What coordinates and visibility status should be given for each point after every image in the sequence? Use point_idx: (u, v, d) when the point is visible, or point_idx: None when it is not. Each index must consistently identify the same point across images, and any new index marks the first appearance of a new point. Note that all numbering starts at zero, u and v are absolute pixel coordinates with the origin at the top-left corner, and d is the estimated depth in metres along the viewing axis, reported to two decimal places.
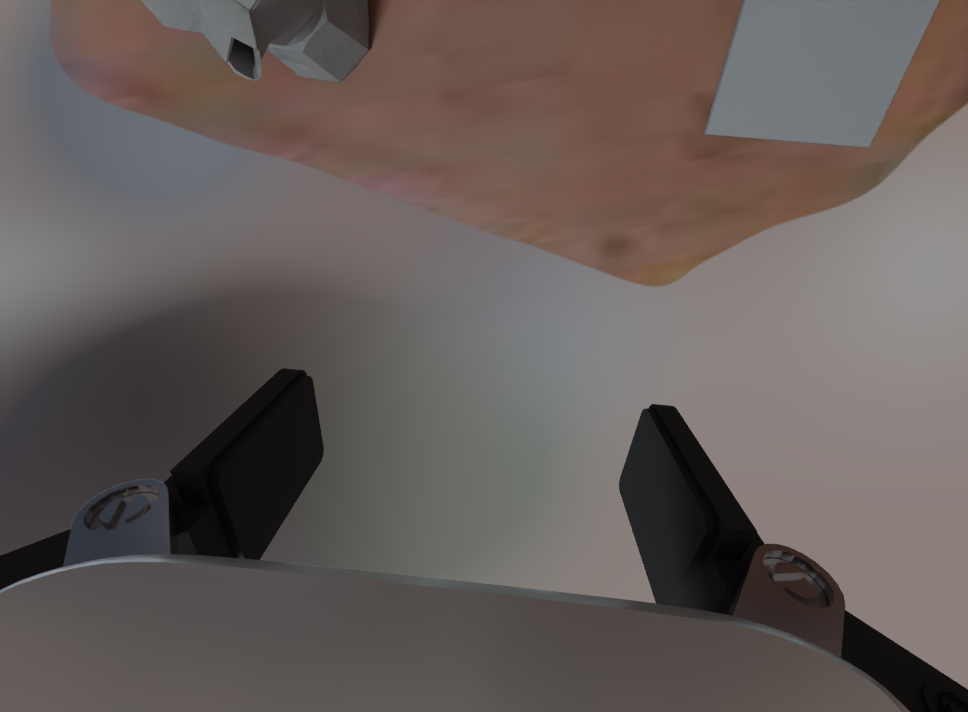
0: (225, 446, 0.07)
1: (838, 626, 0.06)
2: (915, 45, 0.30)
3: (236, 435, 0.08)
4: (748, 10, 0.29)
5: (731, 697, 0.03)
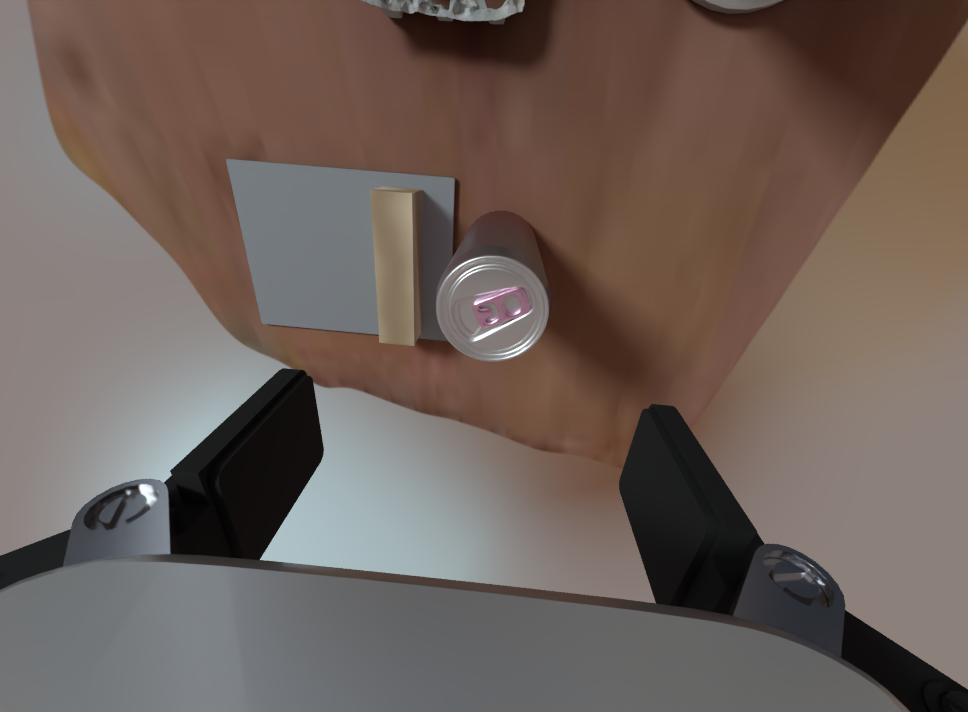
0: (225, 446, 0.07)
1: (838, 625, 0.06)
2: (333, 328, 0.36)
3: (236, 435, 0.08)
4: (330, 174, 0.30)
5: (731, 697, 0.03)
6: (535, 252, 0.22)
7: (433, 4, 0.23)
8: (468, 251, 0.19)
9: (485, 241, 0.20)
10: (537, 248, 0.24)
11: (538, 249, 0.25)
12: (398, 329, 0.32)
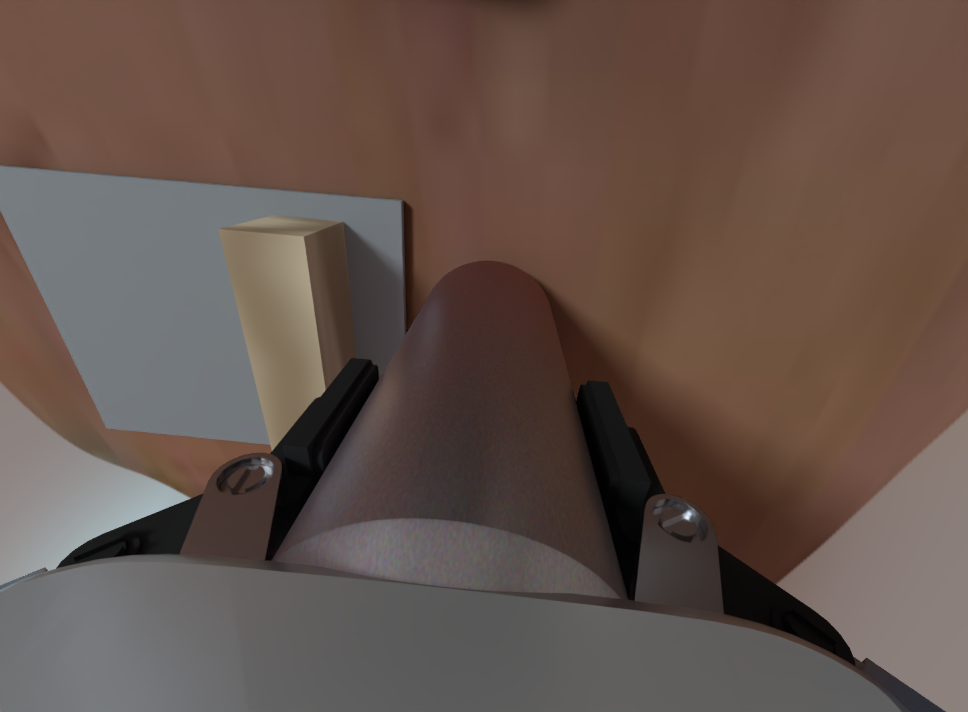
0: (322, 425, 0.08)
1: (714, 552, 0.07)
2: (220, 436, 0.22)
3: (328, 415, 0.09)
4: (172, 192, 0.16)
5: (731, 697, 0.03)
6: (570, 425, 0.08)
7: None
8: (337, 529, 0.05)
9: (415, 451, 0.06)
10: (565, 370, 0.11)
11: (565, 363, 0.12)
12: None
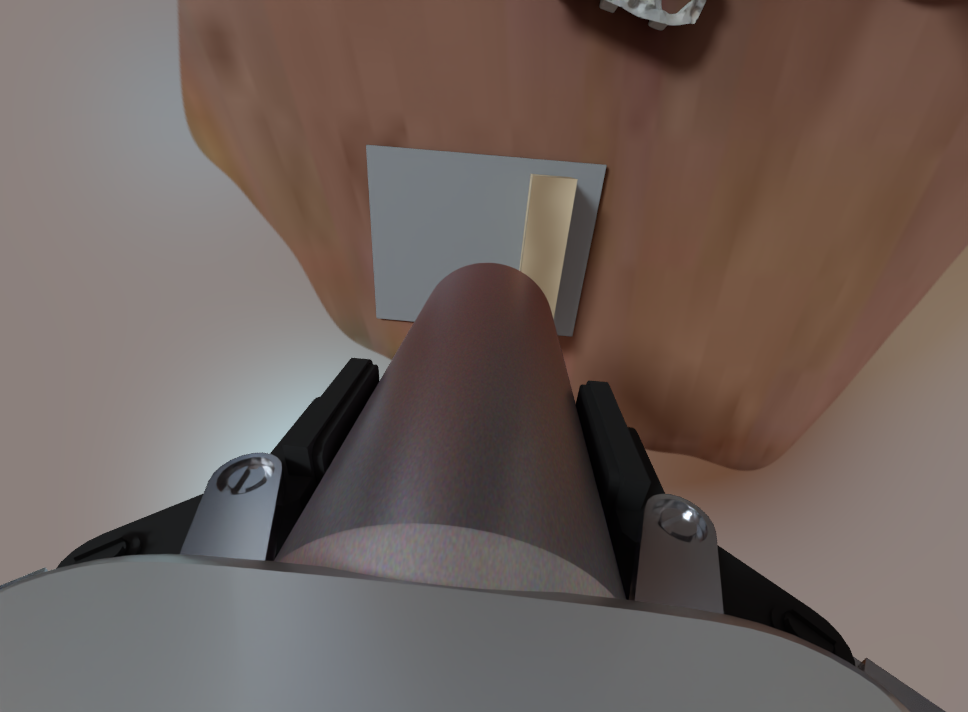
0: (323, 425, 0.08)
1: (713, 552, 0.07)
2: None
3: (329, 416, 0.09)
4: (475, 160, 0.29)
5: (731, 697, 0.03)
6: (569, 429, 0.08)
7: None
8: (337, 534, 0.05)
9: (415, 455, 0.06)
10: (564, 373, 0.11)
11: (564, 366, 0.12)
12: None
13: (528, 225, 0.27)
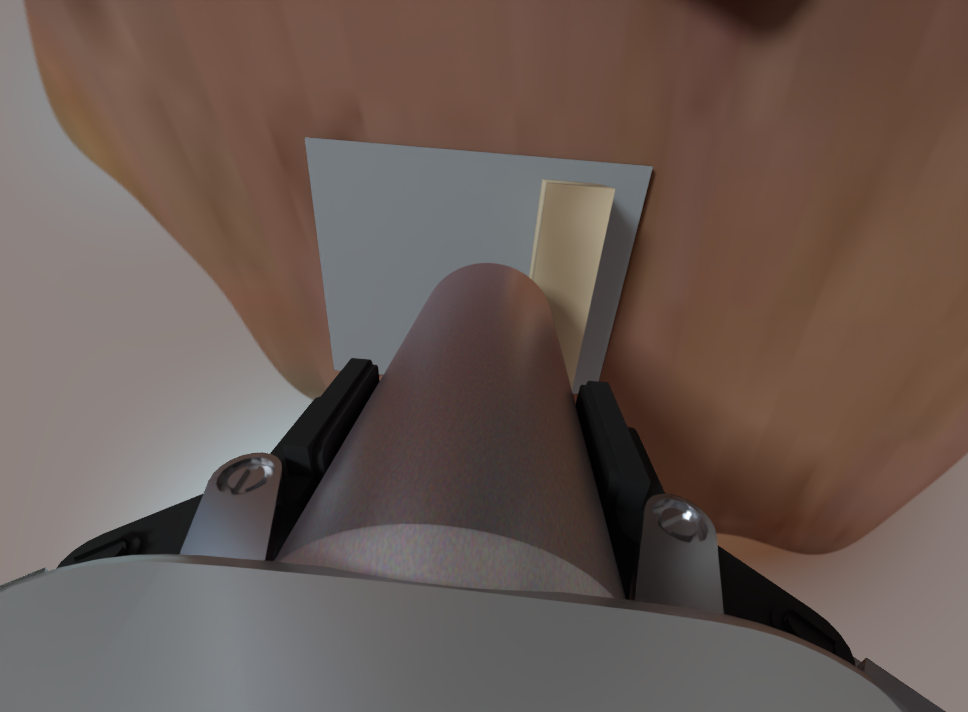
0: (323, 425, 0.08)
1: (714, 552, 0.07)
2: None
3: (329, 415, 0.09)
4: (462, 160, 0.20)
5: (731, 697, 0.03)
6: (569, 429, 0.08)
7: None
8: (336, 534, 0.05)
9: (415, 455, 0.06)
10: (564, 373, 0.11)
11: (564, 366, 0.12)
12: None
13: (539, 256, 0.18)
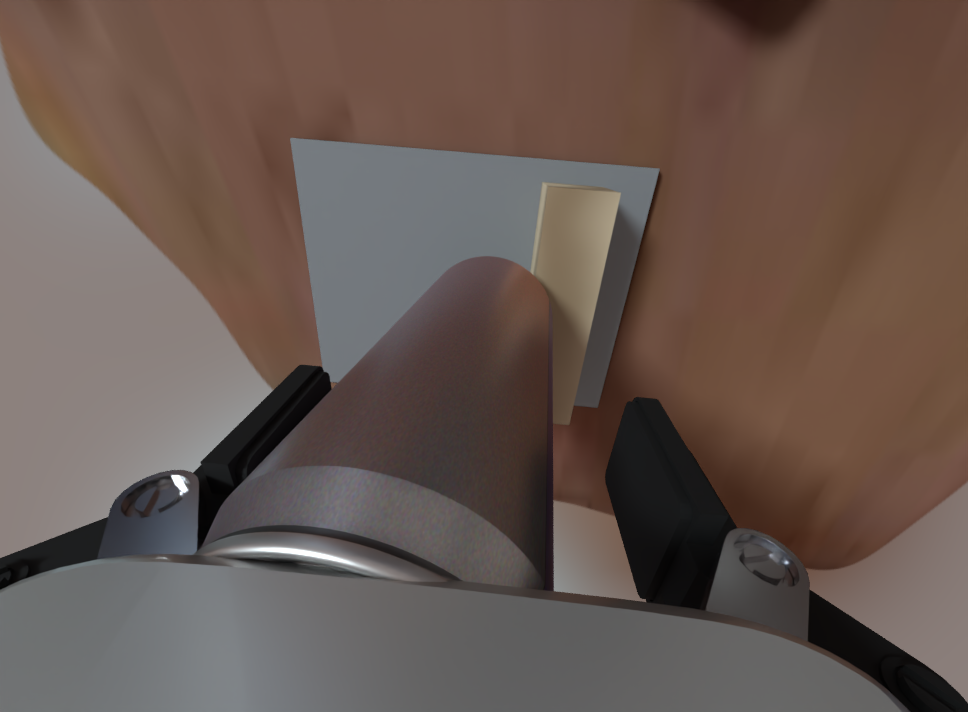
0: (251, 439, 0.08)
1: (803, 602, 0.06)
2: None
3: (260, 428, 0.08)
4: (457, 162, 0.19)
5: (731, 697, 0.03)
6: (526, 408, 0.08)
7: None
8: (273, 472, 0.05)
9: (359, 413, 0.06)
10: (542, 361, 0.11)
11: (546, 355, 0.12)
12: None
13: (539, 264, 0.17)
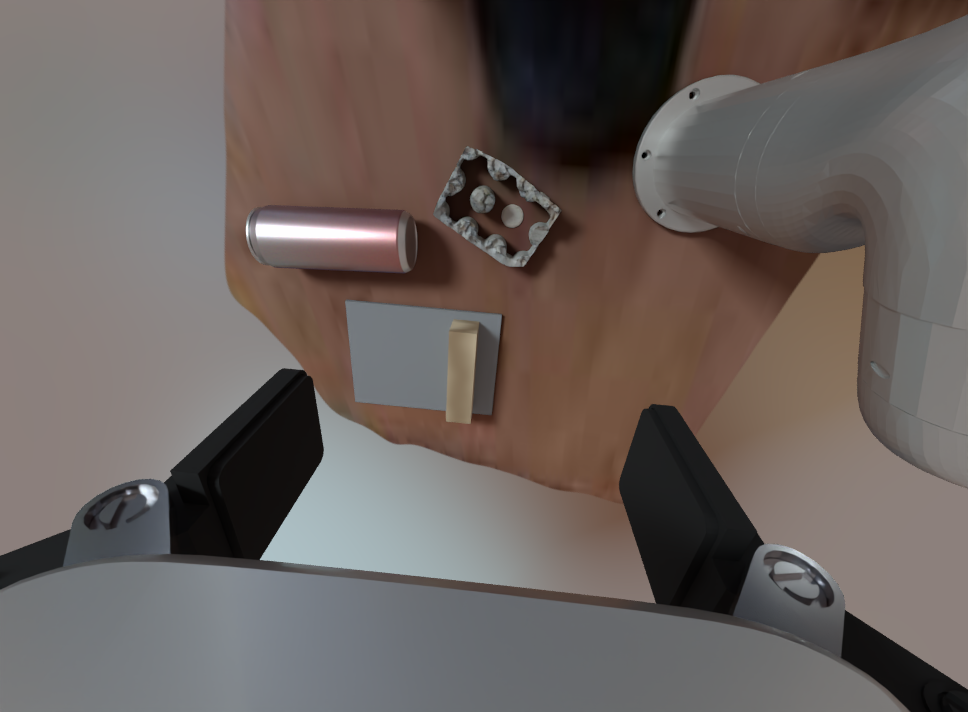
0: (225, 446, 0.07)
1: (837, 626, 0.06)
2: (407, 405, 0.50)
3: (236, 435, 0.08)
4: (416, 311, 0.44)
5: (731, 697, 0.03)
6: (299, 263, 0.37)
7: (477, 239, 0.37)
8: (256, 224, 0.35)
9: (269, 233, 0.35)
10: (333, 267, 0.37)
11: (343, 269, 0.38)
12: (460, 413, 0.46)
13: (449, 357, 0.42)
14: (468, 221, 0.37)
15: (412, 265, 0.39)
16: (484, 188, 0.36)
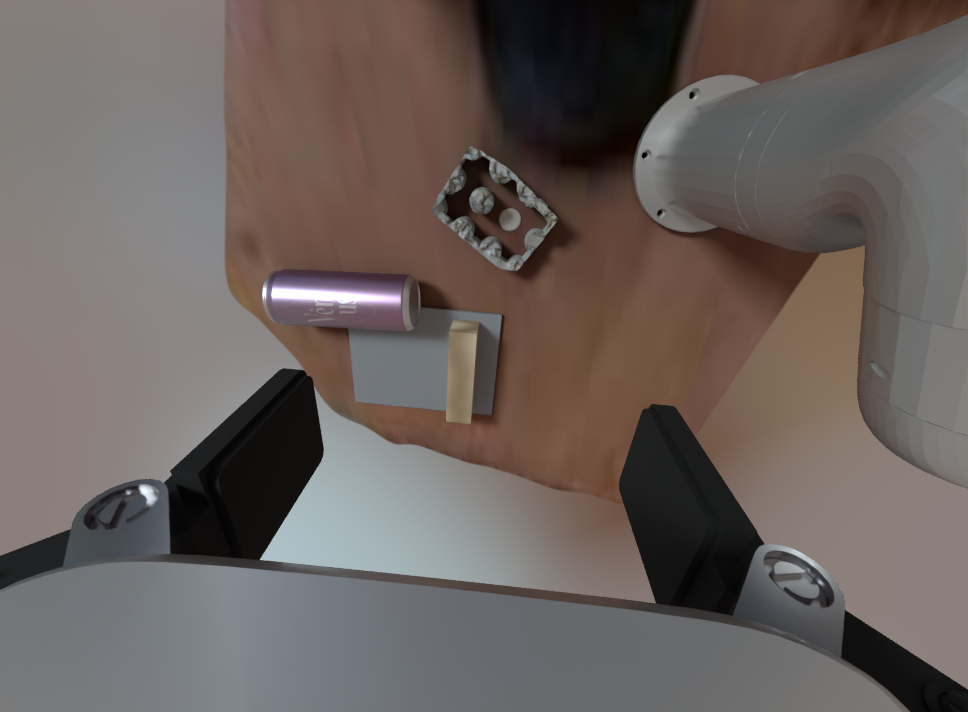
0: (225, 446, 0.07)
1: (838, 625, 0.06)
2: (407, 405, 0.50)
3: (236, 435, 0.08)
4: None
5: (731, 697, 0.03)
6: None
7: (473, 239, 0.37)
8: None
9: None
10: None
11: None
12: (460, 413, 0.46)
13: (449, 357, 0.42)
14: (466, 221, 0.37)
15: (417, 285, 0.41)
16: (484, 190, 0.36)
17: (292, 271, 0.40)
